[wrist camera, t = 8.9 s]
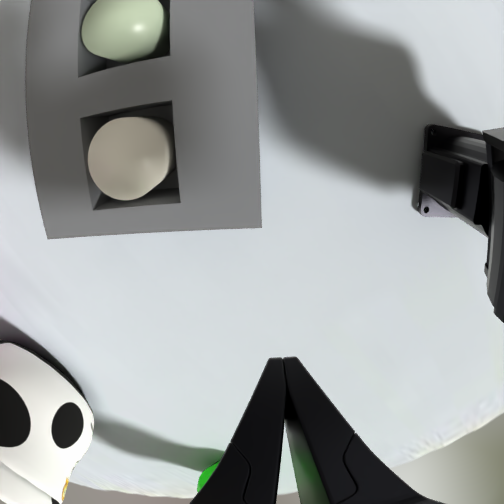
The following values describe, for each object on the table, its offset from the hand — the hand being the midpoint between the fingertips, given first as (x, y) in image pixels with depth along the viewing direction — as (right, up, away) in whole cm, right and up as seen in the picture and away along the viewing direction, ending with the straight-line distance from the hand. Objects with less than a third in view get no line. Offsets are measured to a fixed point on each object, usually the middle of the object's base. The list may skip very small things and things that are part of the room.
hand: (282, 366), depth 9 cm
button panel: (-7, +17, +5) cm, 19 cm away
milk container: (-27, -13, +20) cm, 36 cm away
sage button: (-7, +16, +5) cm, 19 cm away
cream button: (-7, +10, +8) cm, 15 cm away
